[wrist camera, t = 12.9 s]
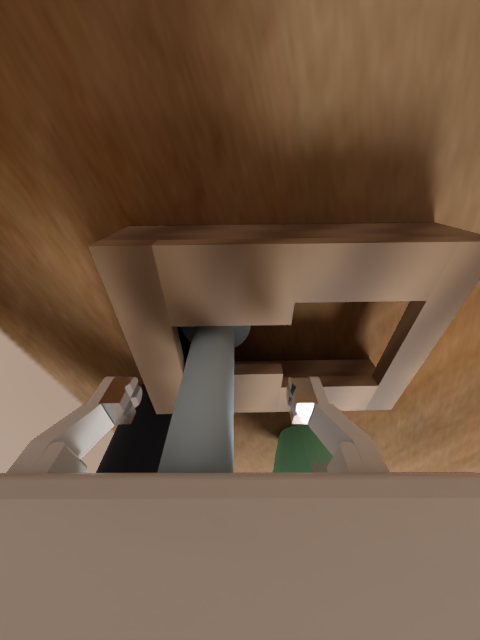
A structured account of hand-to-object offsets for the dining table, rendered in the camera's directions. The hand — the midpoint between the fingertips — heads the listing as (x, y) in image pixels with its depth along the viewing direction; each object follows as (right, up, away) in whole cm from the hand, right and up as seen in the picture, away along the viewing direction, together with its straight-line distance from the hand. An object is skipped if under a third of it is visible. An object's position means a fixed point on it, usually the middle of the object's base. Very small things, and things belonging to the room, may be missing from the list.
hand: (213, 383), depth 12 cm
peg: (0, +4, +6) cm, 7 cm away
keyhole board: (+4, +4, +6) cm, 9 cm away
